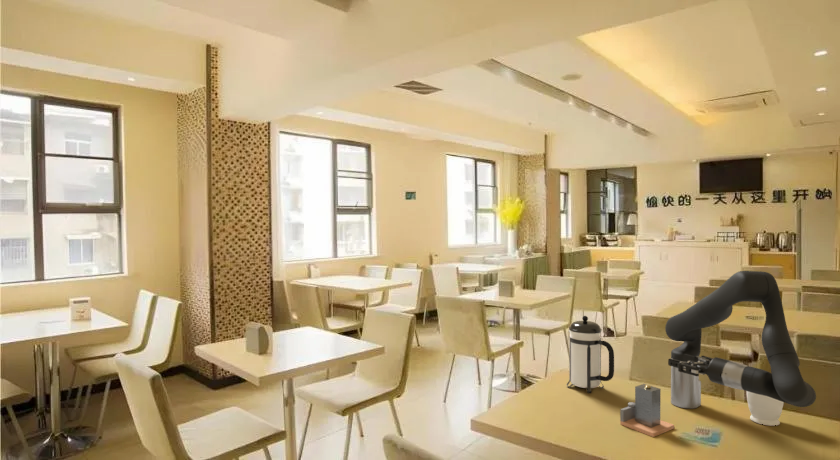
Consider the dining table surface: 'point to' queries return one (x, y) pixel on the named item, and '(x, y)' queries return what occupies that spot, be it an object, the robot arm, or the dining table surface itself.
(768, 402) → the jar
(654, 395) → the block
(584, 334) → the coffee press
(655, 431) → the dock
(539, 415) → the dining table surface
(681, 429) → the dining table surface
